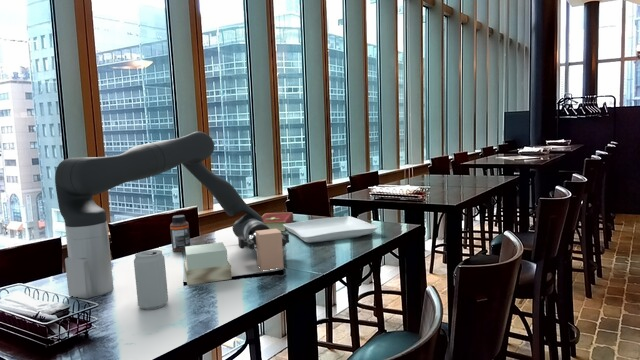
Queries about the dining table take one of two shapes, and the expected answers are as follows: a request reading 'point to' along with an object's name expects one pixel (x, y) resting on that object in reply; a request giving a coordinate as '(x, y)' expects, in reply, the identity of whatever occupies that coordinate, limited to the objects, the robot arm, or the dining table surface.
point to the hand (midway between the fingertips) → (268, 244)
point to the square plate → (330, 229)
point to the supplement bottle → (179, 233)
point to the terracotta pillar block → (269, 249)
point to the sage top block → (206, 256)
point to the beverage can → (151, 279)
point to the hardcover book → (277, 220)
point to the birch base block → (207, 274)
